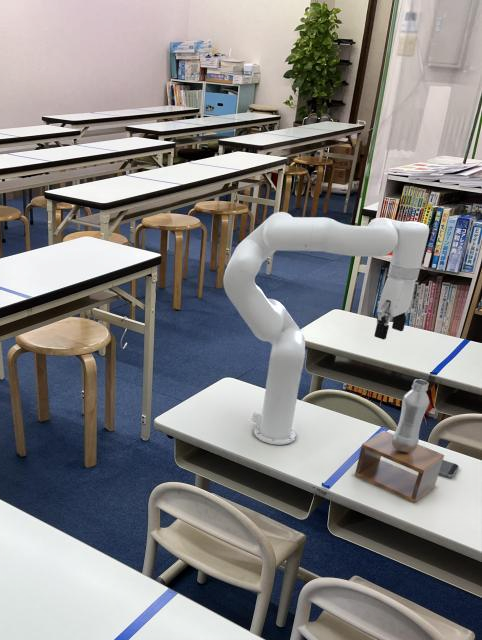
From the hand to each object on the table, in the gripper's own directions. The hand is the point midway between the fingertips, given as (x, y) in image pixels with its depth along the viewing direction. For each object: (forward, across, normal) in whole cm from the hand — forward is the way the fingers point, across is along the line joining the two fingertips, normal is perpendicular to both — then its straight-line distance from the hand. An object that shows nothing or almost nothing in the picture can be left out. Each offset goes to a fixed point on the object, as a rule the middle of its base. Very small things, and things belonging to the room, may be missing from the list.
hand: (388, 333), depth 191 cm
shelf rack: (+36, +10, +16) cm, 41 cm away
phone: (+36, -6, +18) cm, 41 cm away
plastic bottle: (+26, +10, +16) cm, 32 cm away
